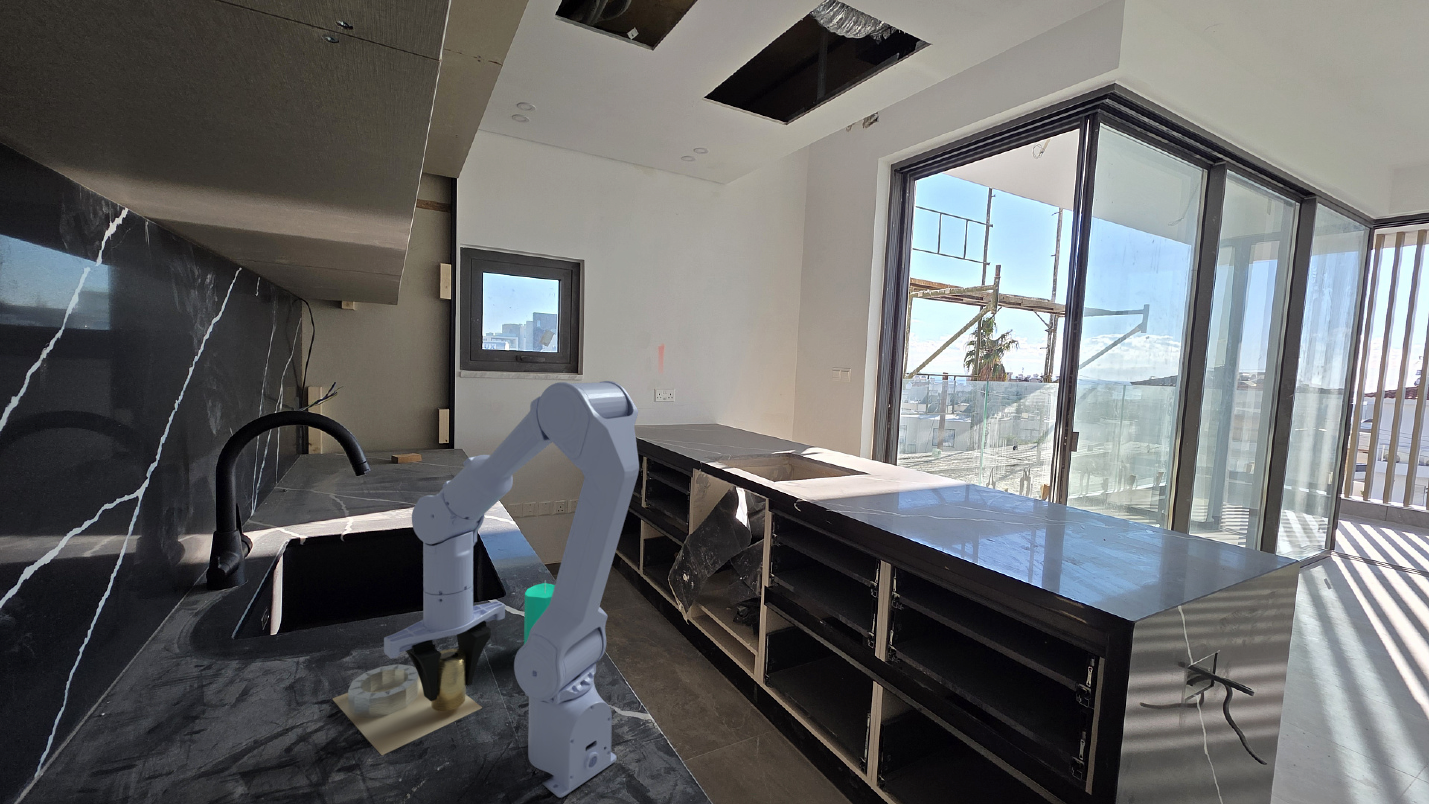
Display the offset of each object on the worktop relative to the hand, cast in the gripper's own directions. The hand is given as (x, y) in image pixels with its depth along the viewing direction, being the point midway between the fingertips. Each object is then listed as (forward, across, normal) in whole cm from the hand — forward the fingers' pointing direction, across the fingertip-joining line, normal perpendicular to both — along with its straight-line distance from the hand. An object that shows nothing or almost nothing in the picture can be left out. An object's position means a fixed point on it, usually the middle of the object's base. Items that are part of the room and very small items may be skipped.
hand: (448, 689), depth 73 cm
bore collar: (+3, +4, -8) cm, 10 cm away
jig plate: (+3, +3, -5) cm, 7 cm away
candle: (+4, -17, -4) cm, 18 cm away
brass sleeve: (+2, 0, 0) cm, 2 cm away
